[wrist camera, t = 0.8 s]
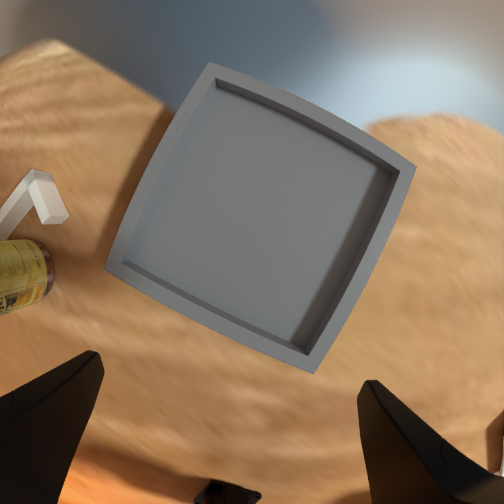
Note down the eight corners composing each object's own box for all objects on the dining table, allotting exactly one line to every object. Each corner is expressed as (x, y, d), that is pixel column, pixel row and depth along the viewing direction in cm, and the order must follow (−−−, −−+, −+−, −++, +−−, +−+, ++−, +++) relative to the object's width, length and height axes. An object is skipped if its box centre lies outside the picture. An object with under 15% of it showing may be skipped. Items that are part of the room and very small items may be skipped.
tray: (308, 360, 23) (313, 374, 20) (117, 265, 22) (103, 269, 20) (402, 171, 21) (416, 166, 19) (213, 76, 21) (209, 61, 18)
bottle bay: (69, 216, 22) (49, 215, 19) (5, 288, 23) (-12, 293, 20) (50, 173, 22) (31, 169, 19) (-10, 249, 23) (-27, 252, 20)
